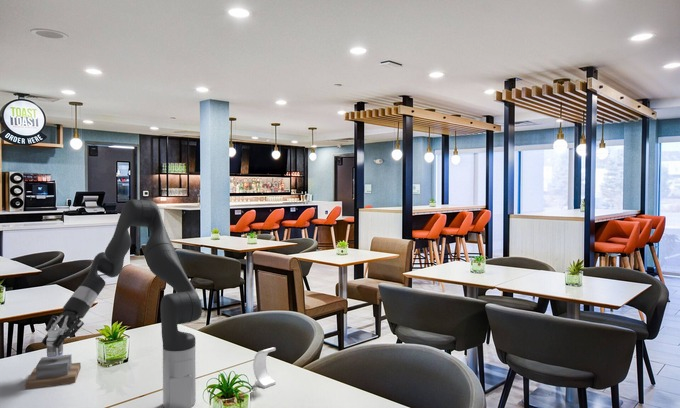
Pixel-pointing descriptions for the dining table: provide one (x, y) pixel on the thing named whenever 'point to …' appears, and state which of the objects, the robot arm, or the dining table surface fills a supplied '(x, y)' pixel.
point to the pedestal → (53, 372)
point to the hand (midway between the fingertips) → (49, 345)
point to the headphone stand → (262, 369)
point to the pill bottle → (51, 350)
